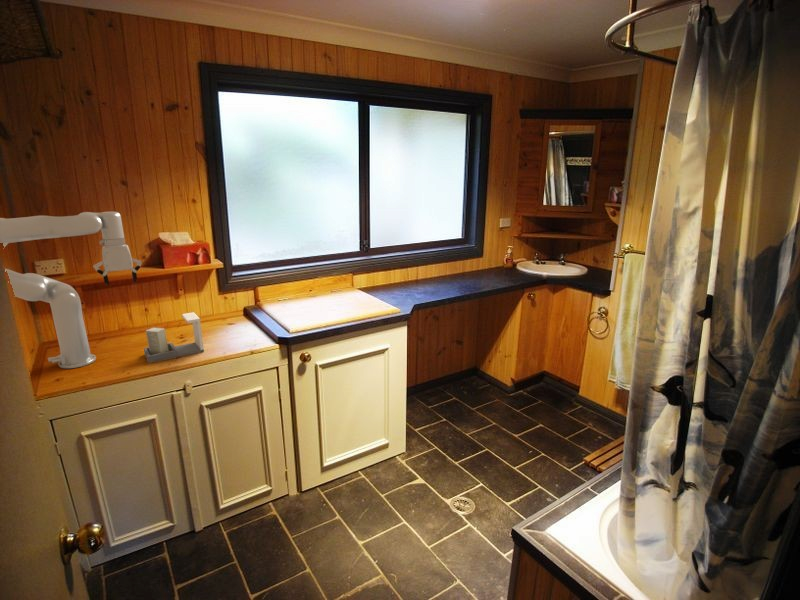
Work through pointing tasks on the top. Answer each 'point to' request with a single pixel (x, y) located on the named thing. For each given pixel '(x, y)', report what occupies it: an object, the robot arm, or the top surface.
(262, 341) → the top surface
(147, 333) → the skincare box
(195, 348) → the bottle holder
